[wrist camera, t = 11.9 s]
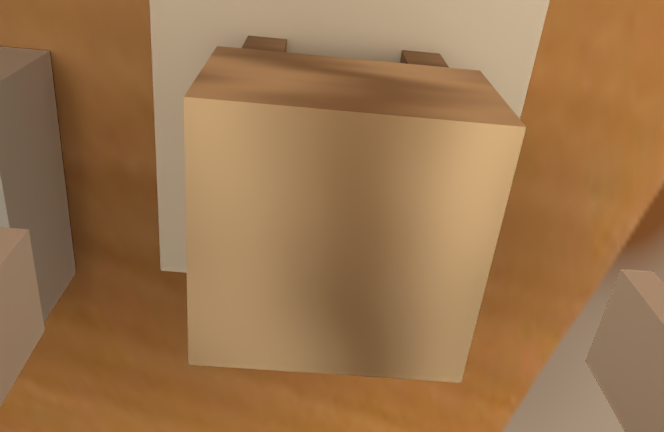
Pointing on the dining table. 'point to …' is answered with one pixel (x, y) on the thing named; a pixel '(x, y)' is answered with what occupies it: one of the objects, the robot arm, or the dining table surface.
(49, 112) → the gray square block
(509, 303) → the dining table surface
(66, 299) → the dining table surface
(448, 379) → the stool
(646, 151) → the dining table surface
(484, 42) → the mat
